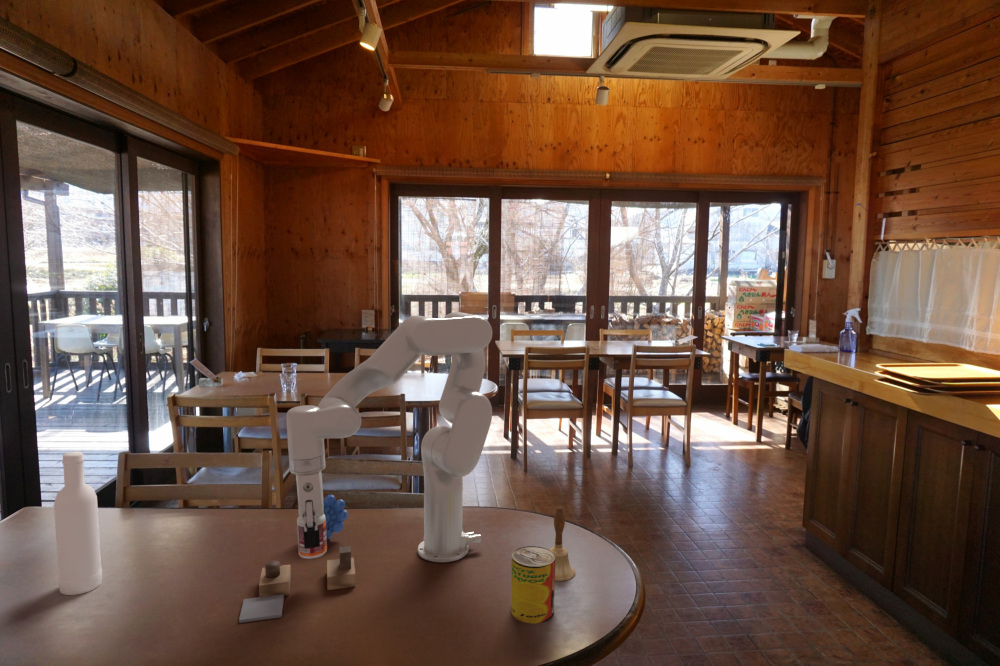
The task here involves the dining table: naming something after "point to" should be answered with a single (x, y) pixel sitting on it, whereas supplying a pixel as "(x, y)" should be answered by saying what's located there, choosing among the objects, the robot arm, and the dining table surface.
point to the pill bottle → (322, 548)
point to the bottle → (77, 530)
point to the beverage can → (532, 584)
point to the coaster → (261, 608)
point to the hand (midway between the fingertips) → (312, 539)
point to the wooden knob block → (279, 577)
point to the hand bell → (561, 550)
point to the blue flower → (334, 515)
